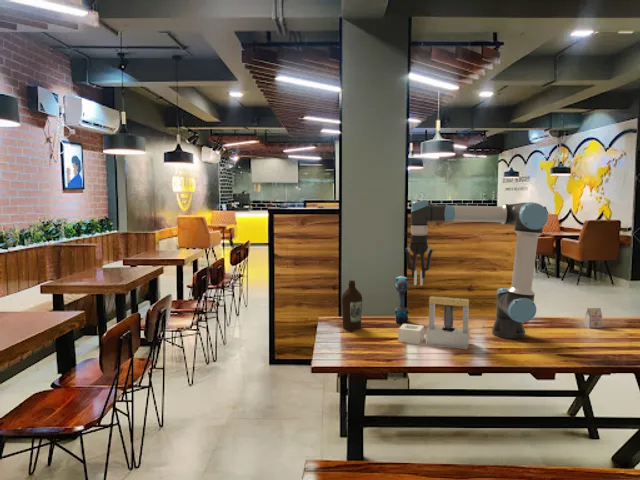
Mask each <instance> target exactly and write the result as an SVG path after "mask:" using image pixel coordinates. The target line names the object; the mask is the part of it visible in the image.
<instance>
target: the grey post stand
mask: <svg viewBox="0 0 640 480" xmlns="http://www.w3.org/2000/svg"><path fill="white" fill-rule="evenodd" d="M428 305H429V306H428V327H427V328H426V337H425V338H426V339H425V340H426V341H425V344H426V346H427V345H428V346H435V347H444V348H452V349H460V350H461V349H462V350H468V349H469V346H470V343H471V342H470V341H471V340H470V339H471V328H469V318H470V317H469V316H470V315H469V312H470V311H469V310H470V309H469V308H470V305H468V306H462V327H460V326H459V327H458V326H453V331H448V330H444V325H440V324H436V304H431V303H429V304H428Z"/></svg>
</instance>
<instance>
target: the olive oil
mask: <svg viewBox="0 0 640 480" xmlns="http://www.w3.org/2000/svg"><path fill="white" fill-rule="evenodd" d="M362 307H363V296H362V294H361V292H360V291H359V290H358V288H356V280H355V279H349V280H348V287H347V289H346V290H345V291H344V292H343V293H342V296H341V311H342V314H341V315H342V328H343V329H344V330H347V331H357V330H361V328H362V318H363V317H362V310H363V308H362Z"/></svg>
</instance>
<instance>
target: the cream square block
mask: <svg viewBox="0 0 640 480" xmlns="http://www.w3.org/2000/svg"><path fill="white" fill-rule="evenodd" d="M397 330H398V333H397V334H398V337H397V339H398V343H399V342H401V343H410V344H418V345H420V344H421V343H422V342H423V340H424V339H425V326H424V325H420V324H411V323H410V324H409V323H402V325H401V326H399V327H398V329H397Z"/></svg>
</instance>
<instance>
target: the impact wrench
mask: <svg viewBox="0 0 640 480" xmlns="http://www.w3.org/2000/svg"><path fill="white" fill-rule="evenodd" d="M393 284H394V286H395V289H396V291H397V292H398V304H399V305H398V306H397V307H395V308H394V320H395V323H397V324H409V323H408V322H409V316H408V314H409V310H408V308H407V307H405V293H406V292H407V291H408V288H409V284H410V282H409V279H408V278H407V276H405V275H403V274H399V275H397V276H396V277H395V279H394V283H393Z"/></svg>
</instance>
